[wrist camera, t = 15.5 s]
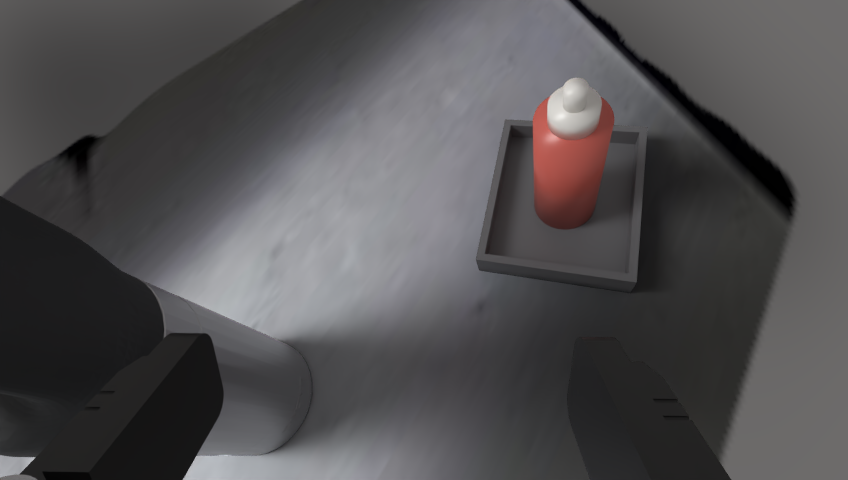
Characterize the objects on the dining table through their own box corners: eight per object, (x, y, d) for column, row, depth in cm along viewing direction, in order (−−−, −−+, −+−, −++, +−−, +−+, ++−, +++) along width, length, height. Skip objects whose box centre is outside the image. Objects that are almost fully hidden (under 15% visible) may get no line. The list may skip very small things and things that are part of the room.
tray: (479, 270, 39) (475, 259, 37) (506, 136, 44) (505, 119, 42) (630, 293, 36) (636, 282, 34) (641, 144, 41) (647, 126, 39)
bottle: (530, 226, 39) (526, 119, 27) (538, 176, 41) (537, 55, 29) (592, 232, 38) (619, 122, 25) (597, 180, 40) (624, 54, 27)
